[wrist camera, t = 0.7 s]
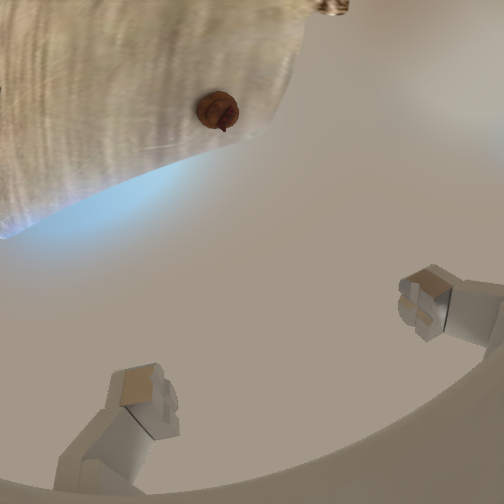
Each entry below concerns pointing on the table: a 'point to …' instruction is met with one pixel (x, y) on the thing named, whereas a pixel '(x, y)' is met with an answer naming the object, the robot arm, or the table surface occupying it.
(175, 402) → the robot arm
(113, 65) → the table surface
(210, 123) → the wooden figurine
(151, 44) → the table surface
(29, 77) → the table surface
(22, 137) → the table surface
